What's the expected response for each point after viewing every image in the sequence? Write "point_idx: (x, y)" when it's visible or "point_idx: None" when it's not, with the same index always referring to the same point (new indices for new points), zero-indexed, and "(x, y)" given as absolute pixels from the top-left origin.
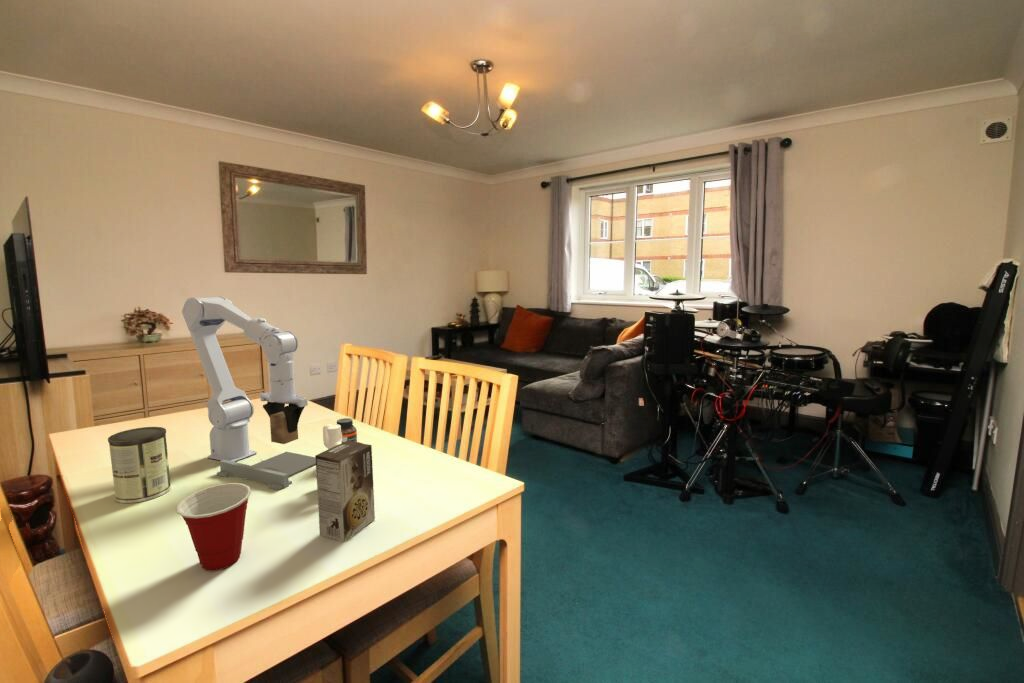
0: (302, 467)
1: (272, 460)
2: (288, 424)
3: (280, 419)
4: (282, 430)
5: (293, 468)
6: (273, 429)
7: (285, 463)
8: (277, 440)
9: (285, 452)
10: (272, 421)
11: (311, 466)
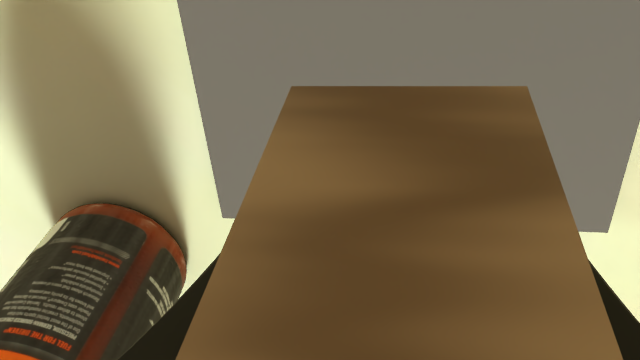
0: (217, 56)
1: (582, 62)
2: (183, 308)
3: (246, 347)
4: (264, 191)
5: (259, 10)
6: (487, 191)
7: (414, 60)
8: (406, 102)
9: (601, 217)
10: (522, 303)
11: (203, 107)
